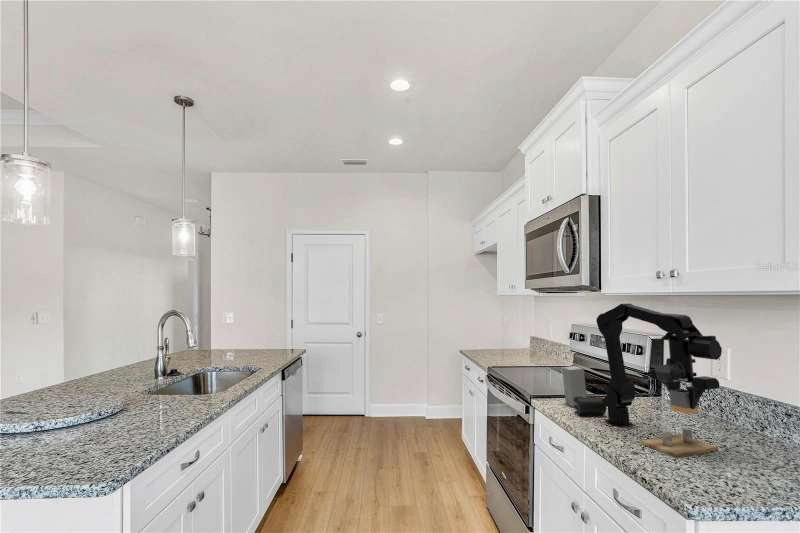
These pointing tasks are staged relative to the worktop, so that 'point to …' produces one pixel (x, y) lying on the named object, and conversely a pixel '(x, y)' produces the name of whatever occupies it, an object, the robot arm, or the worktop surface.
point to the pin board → (678, 444)
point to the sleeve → (681, 401)
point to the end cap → (589, 406)
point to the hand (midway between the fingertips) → (684, 406)
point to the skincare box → (574, 384)
